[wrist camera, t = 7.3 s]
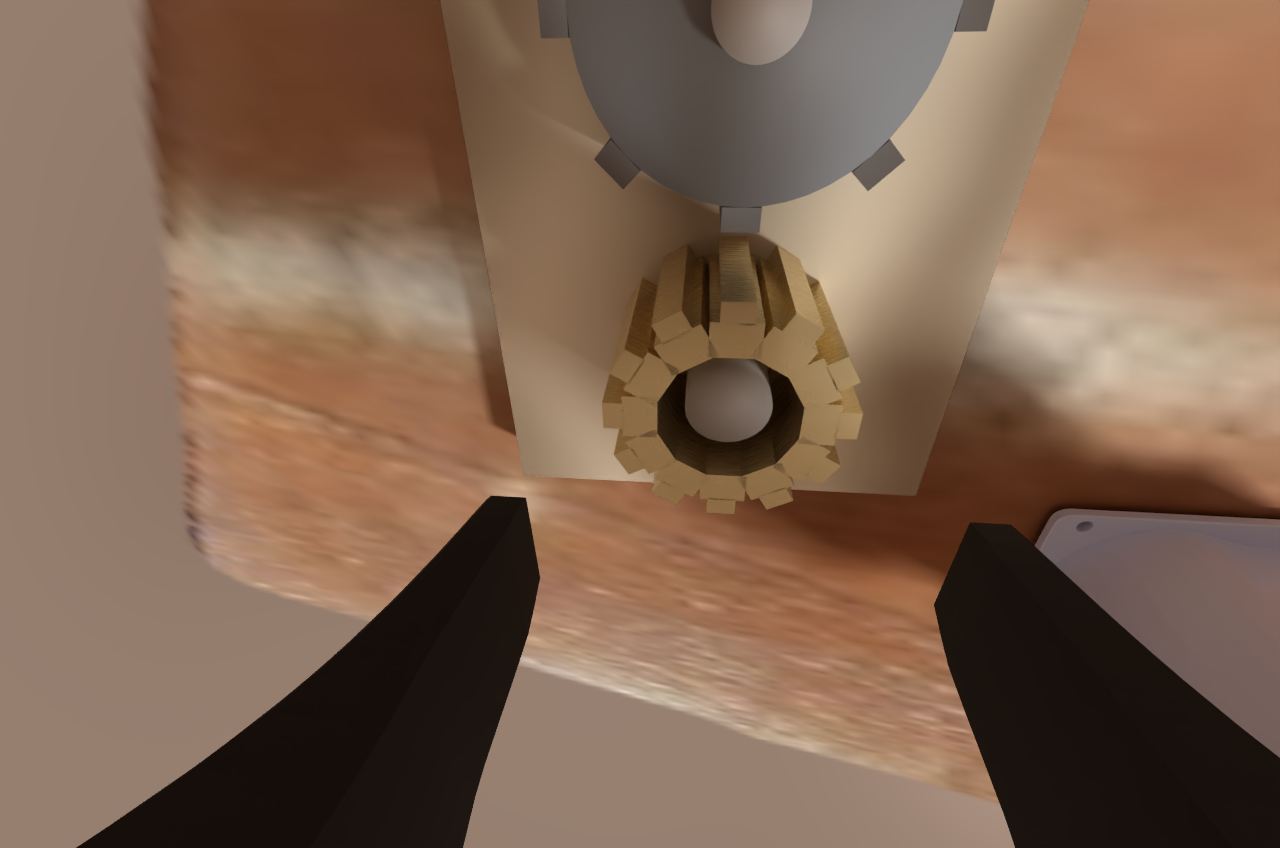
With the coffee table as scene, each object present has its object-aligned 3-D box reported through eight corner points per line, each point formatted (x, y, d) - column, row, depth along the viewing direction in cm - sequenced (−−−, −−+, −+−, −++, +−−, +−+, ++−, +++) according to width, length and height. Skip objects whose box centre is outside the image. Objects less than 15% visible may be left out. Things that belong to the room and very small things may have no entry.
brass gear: (849, 237, 14) (890, 305, 11) (813, 425, 18) (836, 519, 14) (619, 234, 15) (594, 298, 12) (626, 417, 18) (608, 507, 15)
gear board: (1144, -284, 10) (1432, -477, 6) (903, 466, 20) (952, 582, 16) (426, -240, 11) (268, -379, 7) (534, 448, 21) (492, 553, 17)
